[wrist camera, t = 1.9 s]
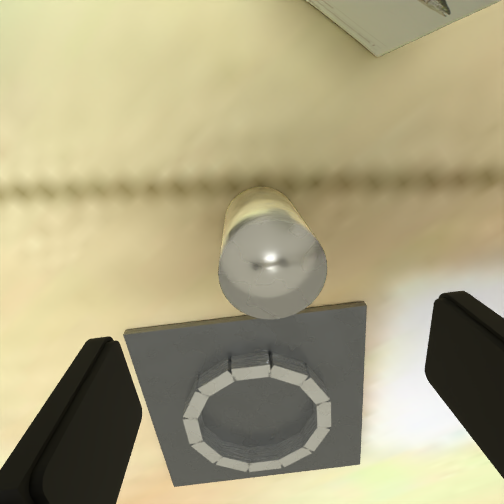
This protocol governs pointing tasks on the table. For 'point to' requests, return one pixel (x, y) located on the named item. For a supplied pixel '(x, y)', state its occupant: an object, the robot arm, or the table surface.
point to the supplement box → (395, 19)
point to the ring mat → (255, 392)
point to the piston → (269, 256)
